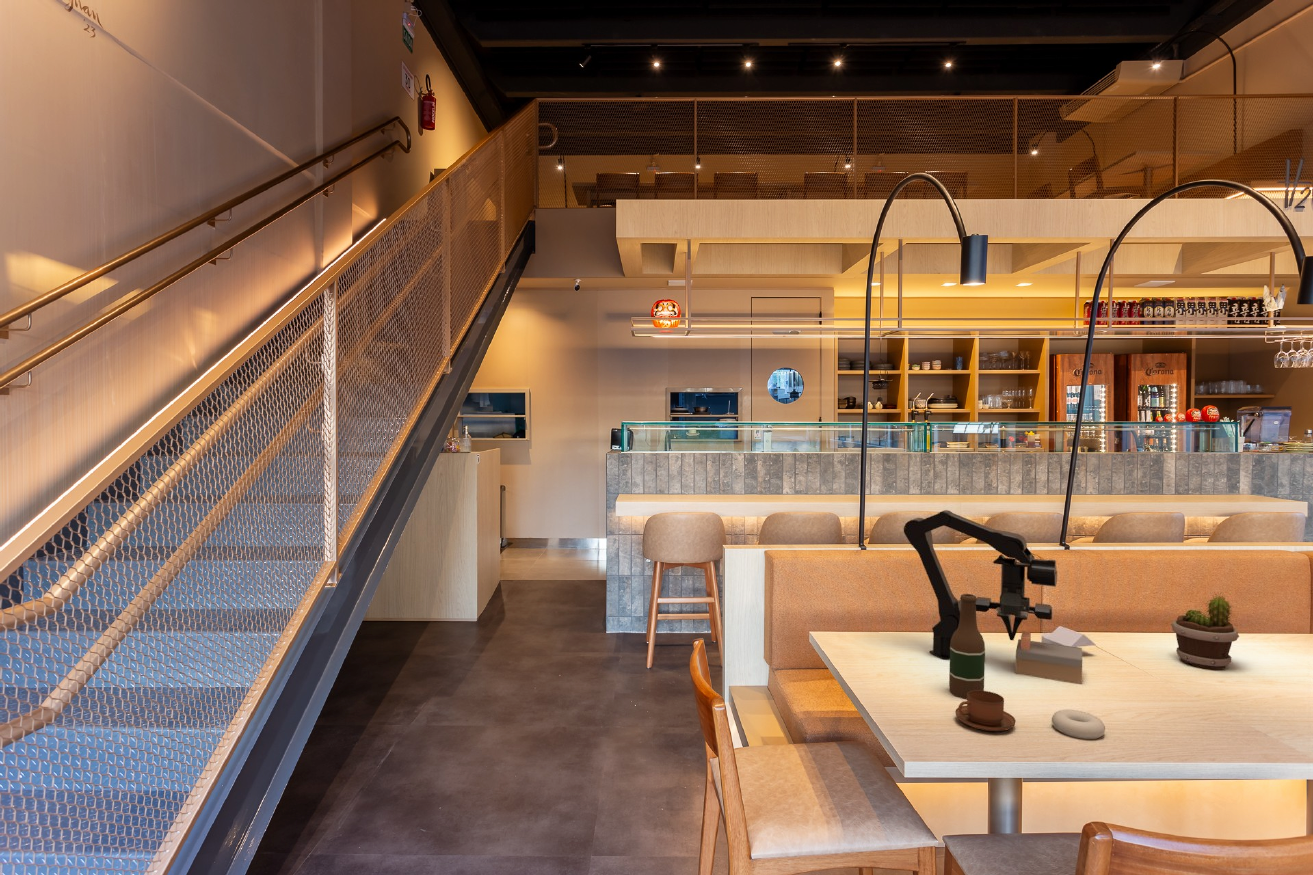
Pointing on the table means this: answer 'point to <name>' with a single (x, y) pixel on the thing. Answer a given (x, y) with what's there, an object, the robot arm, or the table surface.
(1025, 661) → the base
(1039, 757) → the table surface
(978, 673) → the beer bottle
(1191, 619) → the flowerpot
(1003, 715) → the cup and saucer
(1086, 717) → the donut
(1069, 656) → the lid
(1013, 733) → the table surface
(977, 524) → the robot arm
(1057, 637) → the wedge on round base
